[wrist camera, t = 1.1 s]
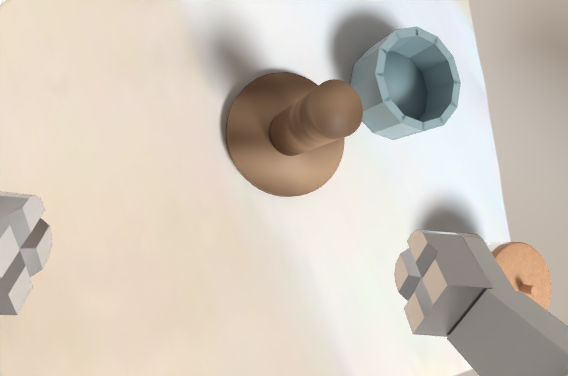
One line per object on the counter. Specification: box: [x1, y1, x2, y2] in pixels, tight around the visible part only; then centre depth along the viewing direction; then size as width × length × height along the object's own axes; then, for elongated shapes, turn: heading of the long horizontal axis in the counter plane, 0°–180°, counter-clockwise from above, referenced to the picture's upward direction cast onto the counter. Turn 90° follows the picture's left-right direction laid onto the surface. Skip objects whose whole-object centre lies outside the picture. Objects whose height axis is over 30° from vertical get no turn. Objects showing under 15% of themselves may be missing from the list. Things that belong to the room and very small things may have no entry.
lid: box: [226, 73, 363, 197], centre depth 39 cm, size 14×14×12 cm
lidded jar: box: [486, 242, 551, 310], centre depth 48 cm, size 11×11×9 cm
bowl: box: [350, 27, 461, 140], centre depth 47 cm, size 12×12×6 cm
